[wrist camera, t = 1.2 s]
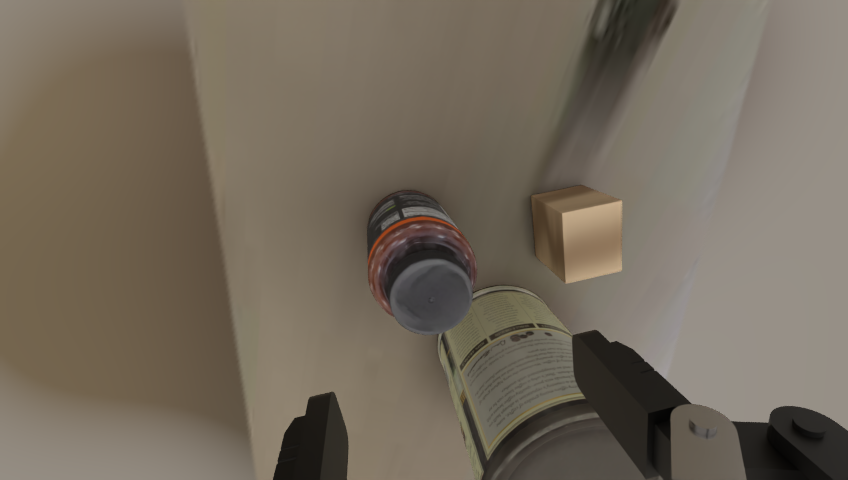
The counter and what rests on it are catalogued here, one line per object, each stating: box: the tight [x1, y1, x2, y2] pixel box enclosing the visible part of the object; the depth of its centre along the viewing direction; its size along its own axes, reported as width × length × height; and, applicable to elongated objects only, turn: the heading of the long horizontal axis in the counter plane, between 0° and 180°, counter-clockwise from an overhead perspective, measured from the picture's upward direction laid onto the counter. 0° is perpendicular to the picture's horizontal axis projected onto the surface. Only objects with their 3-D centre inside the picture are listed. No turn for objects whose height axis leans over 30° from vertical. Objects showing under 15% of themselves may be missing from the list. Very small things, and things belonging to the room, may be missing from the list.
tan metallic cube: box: [531, 185, 622, 283], centre depth 28 cm, size 5×4×5 cm
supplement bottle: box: [367, 191, 477, 335], centre depth 23 cm, size 6×6×11 cm
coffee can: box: [437, 285, 663, 480], centre depth 26 cm, size 10×10×14 cm
